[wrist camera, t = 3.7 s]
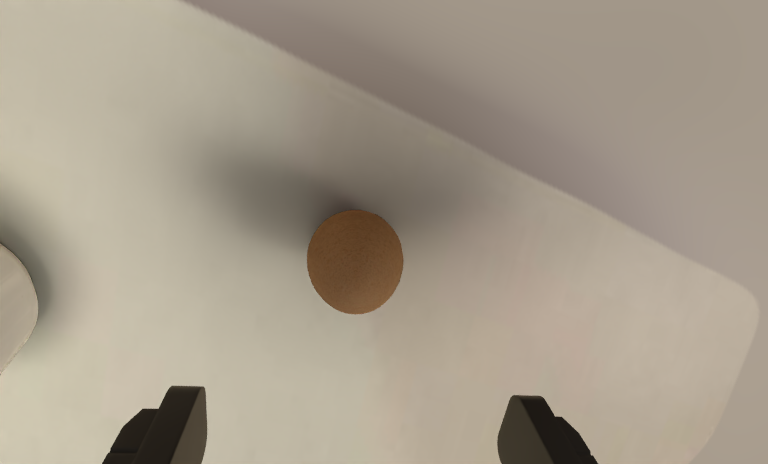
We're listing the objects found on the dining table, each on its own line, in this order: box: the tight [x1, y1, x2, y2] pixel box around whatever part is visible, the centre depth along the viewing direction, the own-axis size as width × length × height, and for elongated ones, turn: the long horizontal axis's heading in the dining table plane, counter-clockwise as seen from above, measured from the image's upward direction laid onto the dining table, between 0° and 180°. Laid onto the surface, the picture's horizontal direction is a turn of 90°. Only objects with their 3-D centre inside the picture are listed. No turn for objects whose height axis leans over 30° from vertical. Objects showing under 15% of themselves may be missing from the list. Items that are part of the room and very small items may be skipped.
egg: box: [307, 210, 403, 314], centre depth 19 cm, size 4×4×6 cm
